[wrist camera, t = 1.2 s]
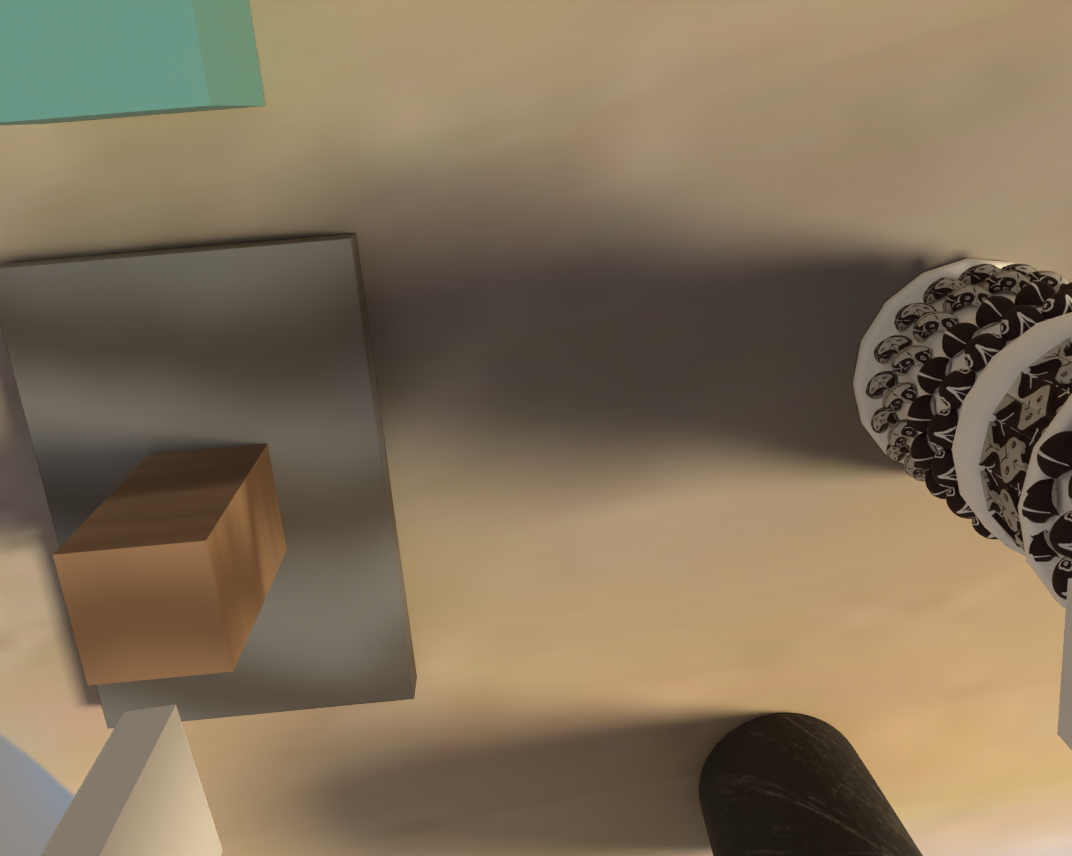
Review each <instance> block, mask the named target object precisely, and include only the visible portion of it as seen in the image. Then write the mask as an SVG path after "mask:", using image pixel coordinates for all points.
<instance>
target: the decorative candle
mask: <svg viewBox="0 0 1072 856" xmlns="http://www.w3.org/2000/svg"><path fill="white" fill-rule="evenodd" d="M853 388H854V392H855V397H856V402H857V406H858V411H859V416H860V420H861V423H862V425H863V426H864V427H865V429H866V430H867V431H868V432H869V434H870V435H871V436H872V438H873V439H874V440H875V441H876V443H877V444H878V445H879V447H880V448H881V449H882V451H883V452H884V453H885V454H886V455H887V456H888V457H889V458H890V459H891V460H893V461H895V462H901V463H903V468H904V470H905V472H906V473H907V474H908V475H909V476H911V477H913V478H914V479H916V480H918V481H925V482H926V486H927V488H928V489H929V491H930V493H931V494H932V495H933V496H935V497H938V498H941V499H946V501H947V504H948V506H949V508H950V509H951V511H952V512H953V513H954V514H956V515H957V516H959V517H962V518H966V519H972V525H973V527H974V529H975V530H976V531H977V532H978V533H979V534H980V535H982V536H983V537H986V538H989V539H999V540H1000V541H1001V542H1003V543H1004V544H1005V545H1006V546H1007V547H1009V548H1011V549H1013V550H1015V551H1017V552H1019V553H1021V554H1023V555H1025V556H1026V561H1027V562H1028V564H1029V565H1030V566H1031V568H1032V569H1033V570H1034V572H1035V573H1036V574H1037V576H1038V577H1039V578H1040V580H1041V581H1042V582H1043V584H1044V585H1045V586H1046V588H1047V589H1048V590H1049V592H1050V593H1051V594H1052V596H1053V597H1054V598H1055V600H1056V601H1057V602H1058V603H1059V604H1060V605H1061V606H1063V607H1064V608H1066V601H1067V586H1068V579H1069V578H1072V283H1068V281H1067V280H1066V279H1065V278H1064V277H1063V276H1061V275H1060V274H1058V273H1055V272H1051V271H1038V270H1037V269H1036V268H1034V267H1032V266H1029V265H1025V264H1015V263H1012V262H1005V261H993V260H980V259H967V258H966V259H963V260H960V261H957V262H954V263H951V264H948V265H945V266H942V267H939V268H935V269H932V270H929V271H926V272H923V273H921V274H920V275H919V276H918V277H916V278H915V279H914V280H913V281H911V282H910V283H909V284H907V285H906V286H905V287H904V288H902V289H901V290H900V291H899V292H897V293H896V294H895V295H893V296H892V297H891V298H890V299H888V300H887V301H886V302H885V303H884V305H883V306H882V308H881V310H880V311H879V313H878V314H877V316H876V318H875V319H874V321H873V322H872V324H871V326H870V327H869V329H868V330H867V332H866V334H865V335H864V337H863V338H862V340H861V343H860V348H859V353H858V358H857V363H856V369H855V374H854V379H853Z"/></svg>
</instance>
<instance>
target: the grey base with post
mask: <svg viewBox="0 0 1072 856" xmlns="http://www.w3.org/2000/svg"><path fill="white" fill-rule="evenodd" d="M0 323H1V327H2V330H3V334H4V338H5V342H6V346H7V349H8V353H9V357H10V361H11V364H12V368H13V372H14V376H15V380H16V383H17V387H18V391H19V395H20V399H21V402H22V406H23V410H24V414H25V417H26V421H27V425H28V429H29V433H30V436H31V440H32V444H33V448H34V452H35V455H36V459H37V463H38V467H39V470H40V474H41V478H42V482H43V486H44V489H45V493H46V497H47V501H48V504H49V508H50V512H51V516H52V520H53V523H54V527H55V531H56V535H57V539H58V542H59V546H60V547H59V548H58V550H57V551H56V552H55V553H54V554H53V559H54V563H55V566H56V570H57V574H58V578H59V581H60V585H61V589H62V592H63V596H64V600H65V604H66V607H67V611H68V615H69V619H70V622H71V626H72V630H73V634H74V637H75V641H76V645H77V648H78V652H79V656H80V660H81V663H82V667H83V671H84V675H85V678H86V682H87V686H88V685H96V686H97V690H98V694H99V697H100V701H101V705H102V709H103V713H104V716H105V720H106V724H107V728H115V727H116V725H117V723H118V721H119V720H120V718H121V716H122V715H123V713H124V712H126V711H133V710H140V709H147V708H154V707H161V706H168V705H175V704H176V706H177V709H178V712H179V715H180V719H181V721H190V720H201V719H211V718H221V717H231V716H242V715H252V714H262V713H272V712H283V711H293V710H303V709H313V708H324V707H334V706H344V705H354V704H365V703H375V702H385V701H395V700H406V699H414V696H415V687H416V679H417V676H416V669H415V661H414V654H413V647H412V639H411V632H410V625H409V617H408V610H407V603H406V595H405V588H404V581H403V574H402V566H401V559H400V552H399V544H398V537H397V530H396V522H395V515H394V508H393V501H392V493H391V486H390V479H389V471H388V464H387V457H386V449H385V442H384V435H383V427H382V420H381V413H380V406H379V398H378V391H377V384H376V376H375V369H374V362H373V354H372V347H371V340H370V332H369V325H368V318H367V311H366V303H365V296H364V289H363V281H362V274H361V267H360V259H359V252H358V245H357V238H356V233H352V234H340V235H328V236H316V237H304V238H293V239H281V240H269V241H257V242H245V243H234V244H222V245H210V246H198V247H187V248H175V249H163V250H151V251H139V252H128V253H116V254H104V255H92V256H80V257H69V258H57V259H45V260H33V261H22V262H10V263H5V264H2V265H0Z"/></svg>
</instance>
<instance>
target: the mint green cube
mask: <svg viewBox="0 0 1072 856" xmlns="http://www.w3.org/2000/svg"><path fill="white" fill-rule="evenodd" d="M256 106H265V100H264V93H263V87H262V81H261V75H260V68H259V62H258V56H257V50H256V44H255V37H254V31H253V25H252V19H251V12H250V6H249V0H0V125H20V124H46V123H59V122H71V121H84V120H96V119H108V118H121V117H133V116H145V115H158V114H170V113H182V112H194V111H207V110H219V109H231V108H244V107H256Z"/></svg>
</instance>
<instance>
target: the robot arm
mask: <svg viewBox="0 0 1072 856" xmlns="http://www.w3.org/2000/svg"><path fill="white" fill-rule="evenodd" d="M1058 735H1059V736H1060V737H1061V738H1062V740H1063V741H1064V742H1065V743H1066V744H1067V745H1068V746H1069V748H1070V749H1071V750H1072V578H1069V579H1068V586H1067V601H1066V615H1065V630H1064V645H1063V660H1062V674H1061V689H1060V704H1059V719H1058ZM222 851H223V850H222V847H221V844H220V841H219V837H218V834H217V831H216V828H215V825H214V822H213V819H212V816H211V812H210V809H209V806H208V803H207V800H206V797H205V794H204V791H203V787H202V784H201V781H200V778H199V775H198V772H197V769H196V766H195V762H194V759H193V756H192V753H191V750H190V747H189V744H188V740H187V737H186V734H185V731H184V728H183V725H182V722H181V719H180V715H179V712H178V709H177V706H176V704H175V705H168V706H161V707H154V708H147V709H140V710H133V711H126V712H124V713H123V715H122V716H121V718H120V720H119V721H118V723H117V725H116V727H115V728H114V730H113V732H112V733H111V735H110V737H109V739H108V740H107V742H106V744H105V746H104V747H103V749H102V751H101V752H100V754H99V756H98V758H97V759H96V761H95V763H94V764H93V766H92V768H91V770H90V771H89V773H88V775H87V776H86V778H85V780H84V782H83V783H82V785H81V787H80V788H79V790H78V792H77V794H76V795H75V797H74V799H73V800H72V802H71V804H70V806H69V808H68V809H67V811H66V812H65V814H64V816H63V818H62V819H61V821H60V823H59V825H58V826H57V828H56V830H55V831H54V833H53V835H52V837H51V838H50V840H49V842H48V844H47V845H46V847H45V849H44V850H43V852H42V854H41V855H40V856H221V854H222Z"/></svg>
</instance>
